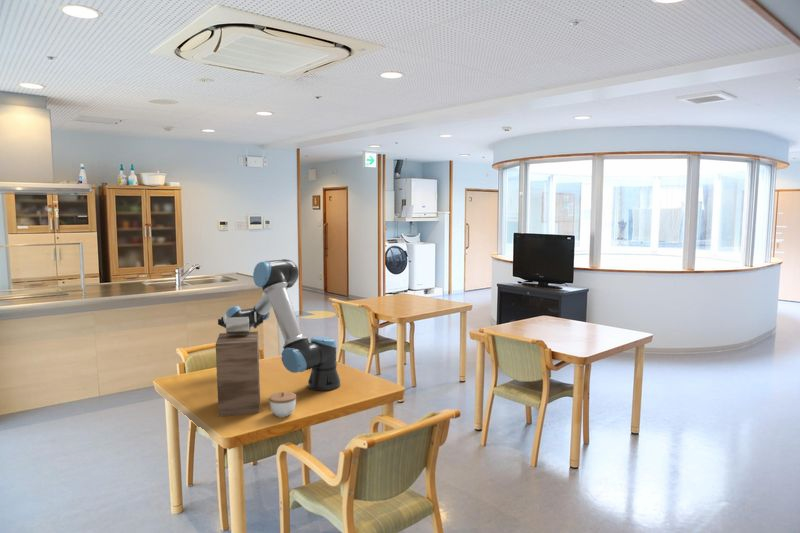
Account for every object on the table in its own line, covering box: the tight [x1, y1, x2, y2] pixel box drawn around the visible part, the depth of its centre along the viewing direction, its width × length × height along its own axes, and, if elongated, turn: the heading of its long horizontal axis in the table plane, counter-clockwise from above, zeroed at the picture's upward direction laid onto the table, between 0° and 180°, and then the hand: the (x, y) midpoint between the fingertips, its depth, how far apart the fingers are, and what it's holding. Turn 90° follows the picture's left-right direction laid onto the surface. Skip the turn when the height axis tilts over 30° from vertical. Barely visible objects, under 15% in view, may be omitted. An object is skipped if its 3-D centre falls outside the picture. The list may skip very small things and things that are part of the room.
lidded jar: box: [268, 391, 297, 418], centre depth 222 cm, size 11×11×9 cm
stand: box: [215, 330, 261, 417], centre depth 230 cm, size 19×16×30 cm
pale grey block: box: [225, 317, 249, 335], centre depth 242 cm, size 28×9×6 cm, turn 13°
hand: (239, 315), depth 247 cm, fingers open, 13 cm apart
